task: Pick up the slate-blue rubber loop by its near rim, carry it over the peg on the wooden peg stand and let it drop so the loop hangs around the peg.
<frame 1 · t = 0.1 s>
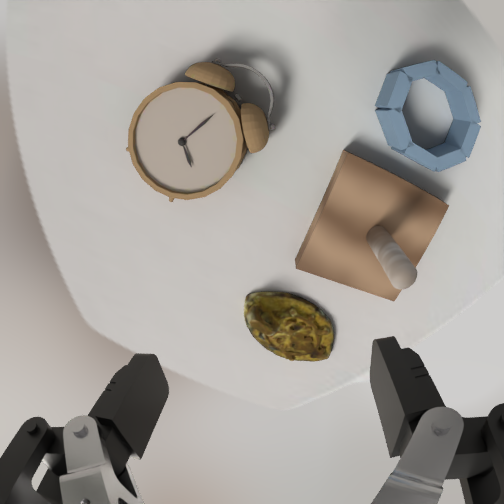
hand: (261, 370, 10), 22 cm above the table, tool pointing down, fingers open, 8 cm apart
wooden peg stand: (371, 228, 31), on the table
alarm clock: (205, 126, 28), on the table
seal: (290, 325, 38), on the table
rubber loop: (422, 113, 24), on the table
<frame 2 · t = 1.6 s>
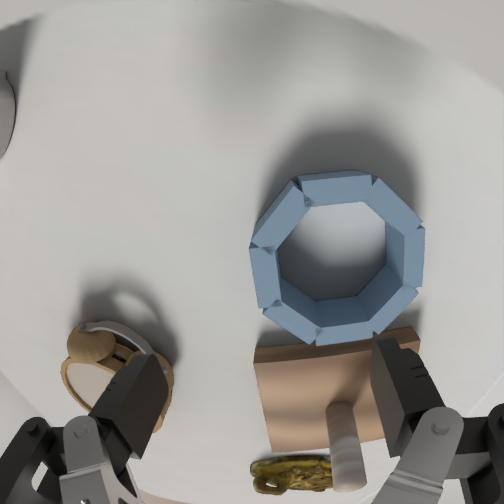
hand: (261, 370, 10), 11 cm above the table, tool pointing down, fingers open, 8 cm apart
wooden peg stand: (336, 393, 24), on the table
alarm clock: (124, 366, 26), on the table
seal: (307, 469, 30), on the table
rubber loop: (333, 249, 20), on the table
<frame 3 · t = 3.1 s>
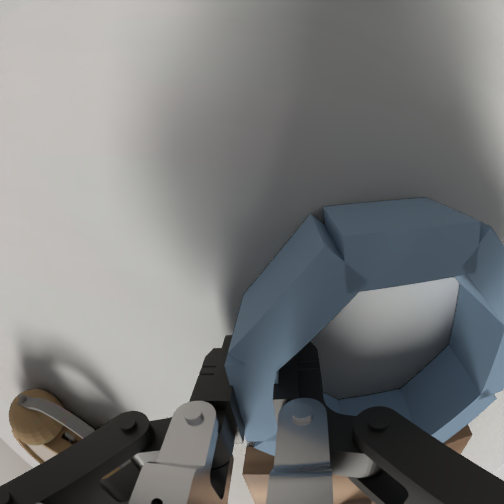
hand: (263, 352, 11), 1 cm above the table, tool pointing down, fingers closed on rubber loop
wooden peg stand: (351, 482, 15), on the table
alarm clock: (86, 436, 17), on the table
rubber loop: (376, 331, 11), on the table, touching gripper
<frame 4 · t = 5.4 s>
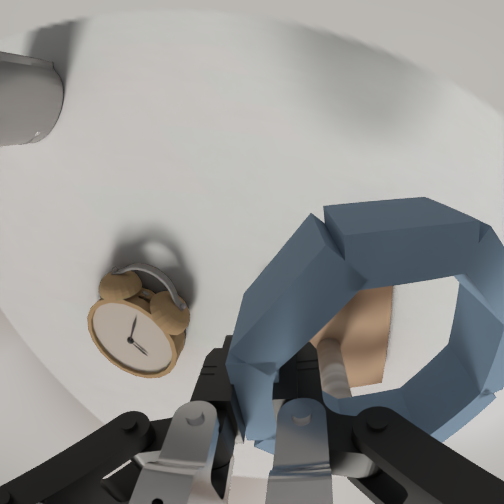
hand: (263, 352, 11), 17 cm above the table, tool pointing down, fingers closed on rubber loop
wooden peg stand: (325, 336, 31), on the table
alarm clock: (145, 313, 32), on the table
rubber loop: (376, 330, 11), point 17 cm above the table, touching gripper
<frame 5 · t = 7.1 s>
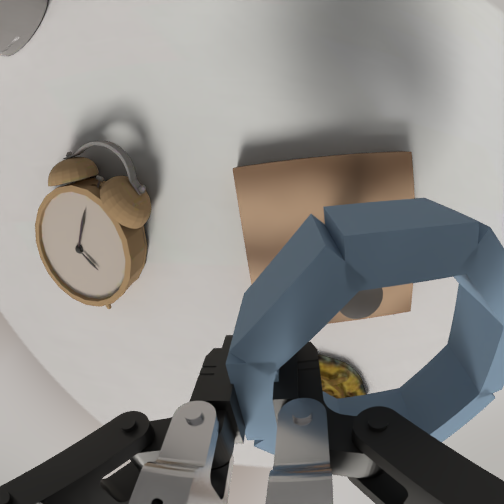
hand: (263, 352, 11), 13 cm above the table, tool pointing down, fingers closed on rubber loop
wooden peg stand: (330, 238, 23), on the table
alarm clock: (103, 219, 25), on the table
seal: (302, 383, 29), on the table
rubber loop: (375, 330, 11), point 13 cm above the table, touching gripper
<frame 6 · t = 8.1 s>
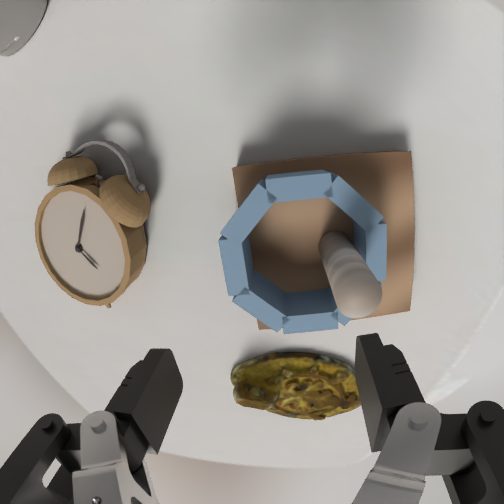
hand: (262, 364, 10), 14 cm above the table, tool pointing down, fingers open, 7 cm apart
wooden peg stand: (330, 238, 23), on the table
alarm clock: (102, 219, 25), on the table
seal: (301, 383, 29), on the table
rubber loop: (302, 243, 22), point 2 cm above the table, touching wooden peg stand
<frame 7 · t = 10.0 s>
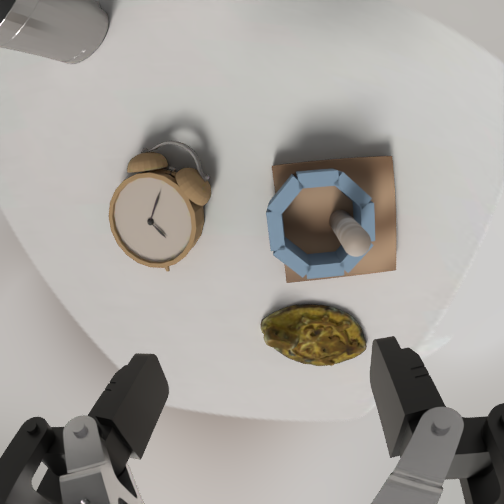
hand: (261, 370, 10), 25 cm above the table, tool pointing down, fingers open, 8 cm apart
wooden peg stand: (337, 216, 33), on the table
alarm clock: (166, 201, 35), on the table
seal: (315, 333, 39), on the table
rubber loop: (318, 218, 31), point 2 cm above the table, touching wooden peg stand
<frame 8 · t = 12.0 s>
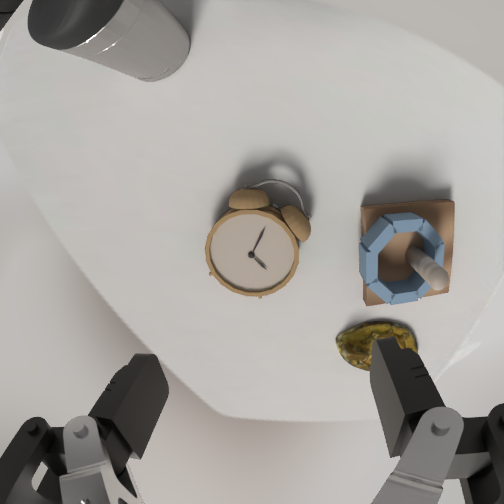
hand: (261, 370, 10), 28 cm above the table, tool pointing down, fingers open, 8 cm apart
wooden peg stand: (407, 249, 36), on the table
alarm clock: (260, 233, 38), on the table
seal: (378, 344, 42), on the table
rubber loop: (397, 253, 35), point 2 cm above the table, touching wooden peg stand
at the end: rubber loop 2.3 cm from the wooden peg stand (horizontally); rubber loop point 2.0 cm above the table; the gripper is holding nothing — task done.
